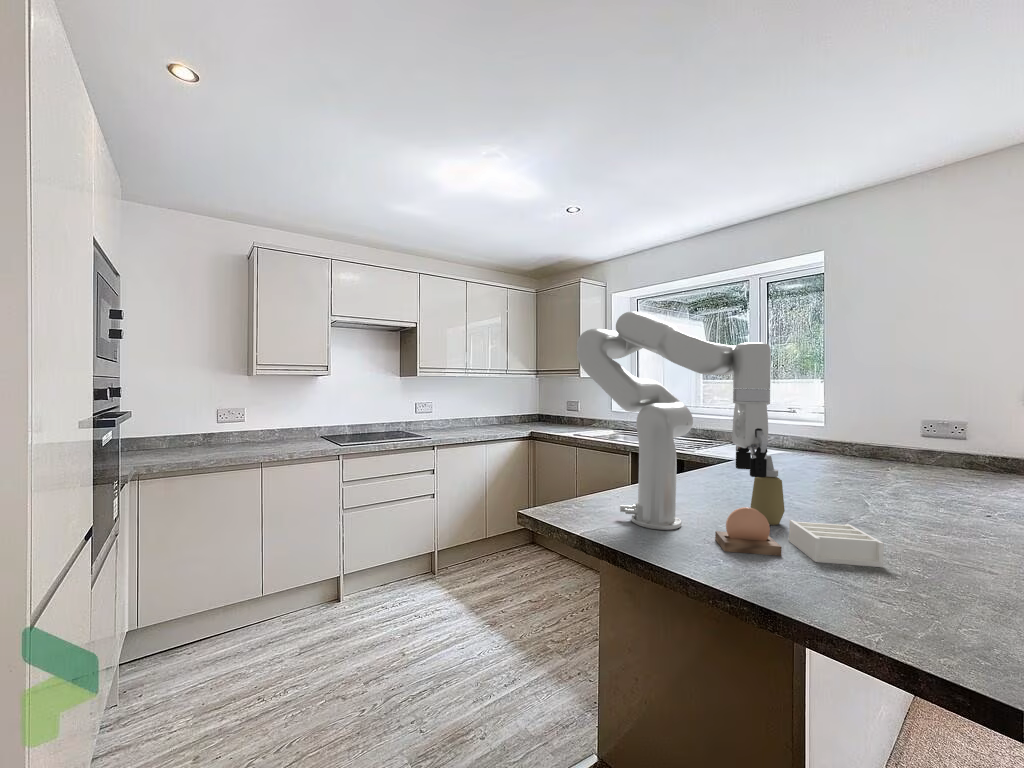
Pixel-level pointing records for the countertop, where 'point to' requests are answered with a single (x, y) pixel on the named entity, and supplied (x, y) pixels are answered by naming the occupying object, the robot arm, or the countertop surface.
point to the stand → (748, 545)
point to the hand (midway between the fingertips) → (750, 472)
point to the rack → (836, 544)
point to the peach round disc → (747, 525)
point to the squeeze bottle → (769, 495)
